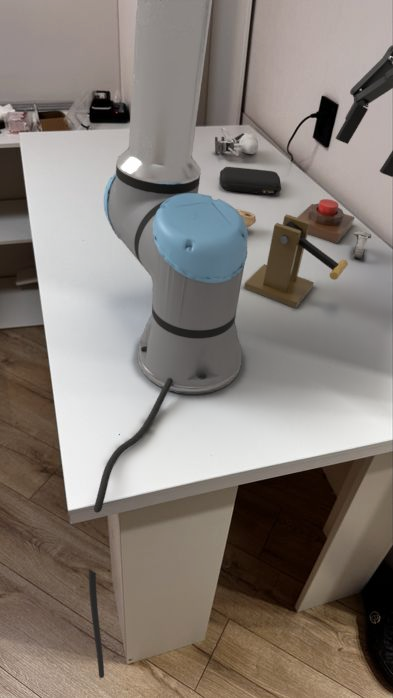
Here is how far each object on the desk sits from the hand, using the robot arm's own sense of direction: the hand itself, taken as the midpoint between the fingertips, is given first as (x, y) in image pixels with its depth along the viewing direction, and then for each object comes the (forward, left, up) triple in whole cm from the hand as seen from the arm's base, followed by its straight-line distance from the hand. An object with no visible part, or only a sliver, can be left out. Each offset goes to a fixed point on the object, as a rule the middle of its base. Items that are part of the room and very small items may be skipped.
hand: (362, 157), depth 93 cm
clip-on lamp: (+38, +43, -20) cm, 61 cm away
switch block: (+11, +7, -20) cm, 24 cm away
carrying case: (+19, +29, -20) cm, 40 cm away
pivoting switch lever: (-17, 0, -12) cm, 21 cm away
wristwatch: (+4, -3, -20) cm, 21 cm away
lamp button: (+11, +6, -17) cm, 21 cm away
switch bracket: (-17, +5, -20) cm, 27 cm away
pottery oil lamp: (-5, +23, -20) cm, 31 cm away
